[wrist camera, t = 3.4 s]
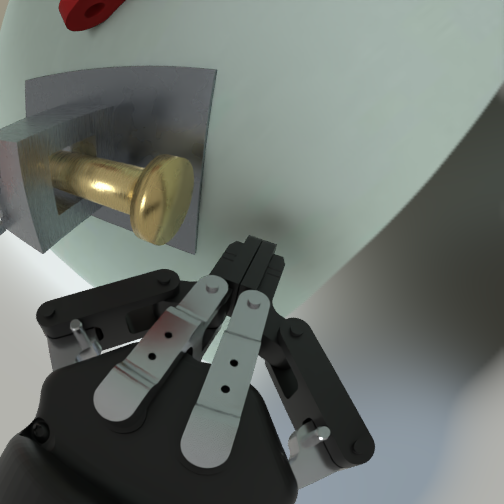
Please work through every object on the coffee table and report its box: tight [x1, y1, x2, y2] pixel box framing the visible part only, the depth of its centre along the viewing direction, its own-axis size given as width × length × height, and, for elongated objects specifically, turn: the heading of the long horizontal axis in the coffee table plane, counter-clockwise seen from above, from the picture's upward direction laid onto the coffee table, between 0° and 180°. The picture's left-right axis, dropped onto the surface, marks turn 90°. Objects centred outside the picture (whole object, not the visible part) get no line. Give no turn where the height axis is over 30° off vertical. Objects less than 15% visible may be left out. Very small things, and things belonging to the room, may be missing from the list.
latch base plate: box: [0, 66, 217, 255], centre depth 17 cm, size 16×26×12 cm, turn 79°
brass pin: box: [48, 150, 194, 245], centre depth 17 cm, size 6×14×6 cm, turn 79°
